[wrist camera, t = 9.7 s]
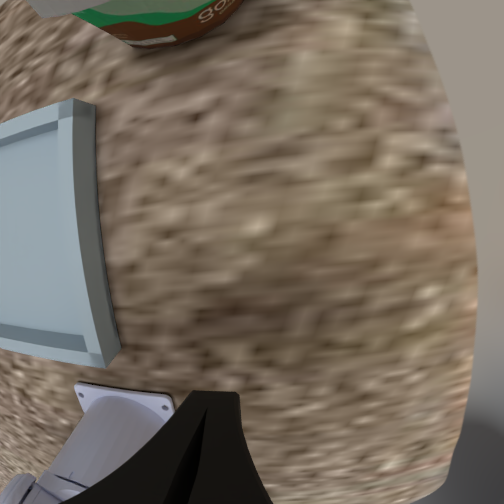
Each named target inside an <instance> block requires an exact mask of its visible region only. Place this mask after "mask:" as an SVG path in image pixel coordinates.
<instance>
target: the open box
mask: <svg viewBox="0 0 504 504" xmlns="http://www.w3.org/2000/svg"><path fill="white" fill-rule="evenodd" d="M95 118H96V106H95V105H92V104H89V103H86V102H83V101H81V100H78V99H75V98H72V99H68V100H65V101H62V102H59V103H55V104H52V105H49V106H46V107H43V108H40V109H38V110H35V111H32V112H29V113H27V114H24V115H21V116H19V117H16V118H14V119H11V120H9V121H6V122H4V123H1V124H0V348H2V349H6V350H10V351H14V352H19V353H23V354H27V355H32V356H36V357H41V358H46V359H51V360H56V361H62V362H67V363H73V364H79V365H85V366H92V367H99V368H107V366H108V365H109V364H110V363H111V361H112V360H113V359H114V357H115V356H116V355H117V353H118V352H119V351H120V349H121V345H120V341H119V336H118V332H117V327H116V322H115V318H114V313H113V308H112V302H111V297H110V291H109V286H108V280H107V273H106V267H105V260H104V253H103V245H102V237H101V228H100V218H99V206H98V193H97V176H96V146H95Z"/></svg>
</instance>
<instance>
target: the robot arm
mask: <svg viewBox="0 0 504 504" xmlns="http://www.w3.org/2000/svg"><path fill="white" fill-rule="evenodd" d="M74 389H75V391H76V394H77V397H78V399H79V402H80V404H81V406H82V409H83V411H84V416H83V417H82V419H81V420H80V421H79V423H78V424H77V426H76V427H75V429H74V430H73V432H72V433H71V435H70V436H69V438H68V439H67V441H66V443H65V444H64V446H63V447H62V449H61V450H60V452H59V453H58V455H57V456H56V458H55V459H54V461H53V462H52V464H51V466H50V467H49V469H48V470H44V472H43V473H42V475H41V476H40V478H39V480H38V481H37V483H35V481H36V478H35V477H34V476H33V475H32V474H30V473H26V474H17V475H16V476H15V477H14V478H13V479H12V480H11V481H10V482H9V483H8V485H7V486H6V487H5V489H4V490H3V491H2V493H1V494H0V504H273V502H272V501H271V499H270V497H269V495H268V493H267V491H266V490H265V488H264V486H263V484H262V482H261V479H260V477H259V475H258V473H257V471H256V468H255V466H254V463H253V461H252V458H251V456H250V453H249V450H248V447H247V444H246V440H245V437H244V434H243V430H242V423H241V410H240V397H239V394H237V393H236V392H221V391H196V390H193V391H192V392H191V393H190V394H189V395H188V396H187V398H186V399H185V400H184V401H183V403H182V404H181V405H180V406H179V408H178V409H177V410H176V411H174V406H173V402H172V399H171V398H170V397H169V396H168V395H165V394H155V393H146V392H137V391H129V390H122V389H115V388H108V387H102V386H96V385H91V384H85V383H80V382H77V383H76V384H75V385H74ZM164 405H165V406H167V407H165V406H164Z"/></svg>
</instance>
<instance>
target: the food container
mask: <svg viewBox="0 0 504 504" xmlns="http://www.w3.org/2000/svg"><path fill="white" fill-rule="evenodd" d="M26 1H27V2H28V3H29V4H30V5H31V6H32V8H33V9H34V10H35V11H36V12H37V13H38V14H39V15H40V16H41V17H42V18H48V17H57V16H62V15H66V14H70V13H71V14H73V15H75V16H77V17H79V18H81V19H83V20H85V21H87V22H89V23H91V24H93V25H94V26H96V27H98V28H100V29H102V30H104V31H106V32H107V33H109V34H111V35H113V36H115V37H116V38H118V39H120V40H122V41H123V42H125V43H127V44H128V45H130V46H132V47H137V48H147V49H153V48H160V47H168V46H176V45H179V44H181V43H184V42H187V41H190V40H193V39H196V38H199V37H202V36H203V35H205V34H206V33H208V32H210V31H211V30H213V29H214V28H216V27H218V26H219V25H221V24H223V23H224V22H225V21H226V20H227V19H228V18H229V17H230V16H231V15H232V14H233V13H234V12H235V11H236V10H237V9H238V8H239V6H240V5H241V3H242V2H243V0H26Z"/></svg>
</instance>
